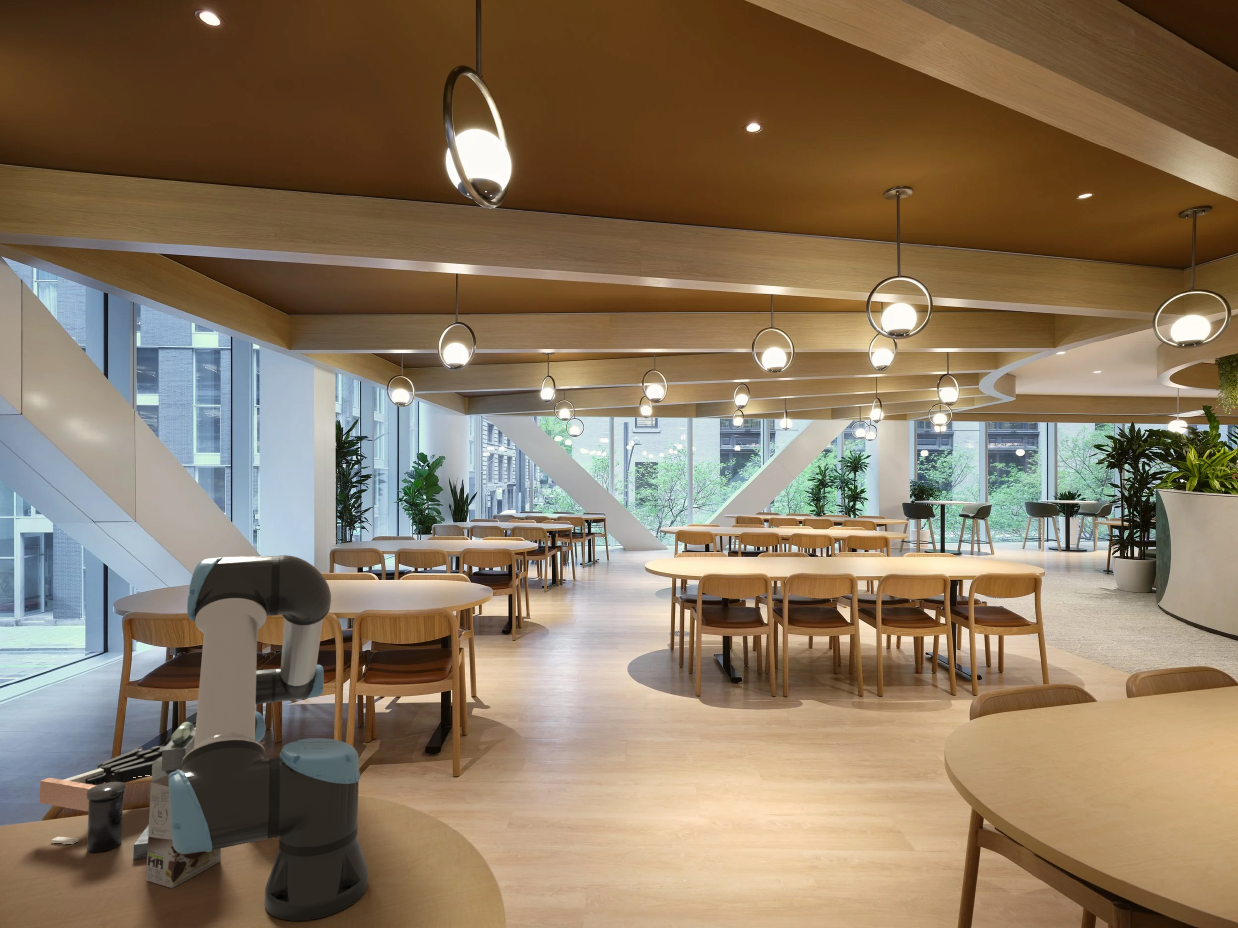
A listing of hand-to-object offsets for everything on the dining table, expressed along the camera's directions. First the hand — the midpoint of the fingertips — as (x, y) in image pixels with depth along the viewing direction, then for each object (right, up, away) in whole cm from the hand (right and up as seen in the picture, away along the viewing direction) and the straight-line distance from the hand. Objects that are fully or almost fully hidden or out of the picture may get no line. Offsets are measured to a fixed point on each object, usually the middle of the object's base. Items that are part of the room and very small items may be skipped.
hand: (62, 788), depth 130 cm
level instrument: (+23, -8, -2) cm, 25 cm away
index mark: (+3, -8, -3) cm, 9 cm away
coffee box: (+30, -8, -12) cm, 34 cm away
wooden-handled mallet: (+5, -8, -3) cm, 10 cm away
